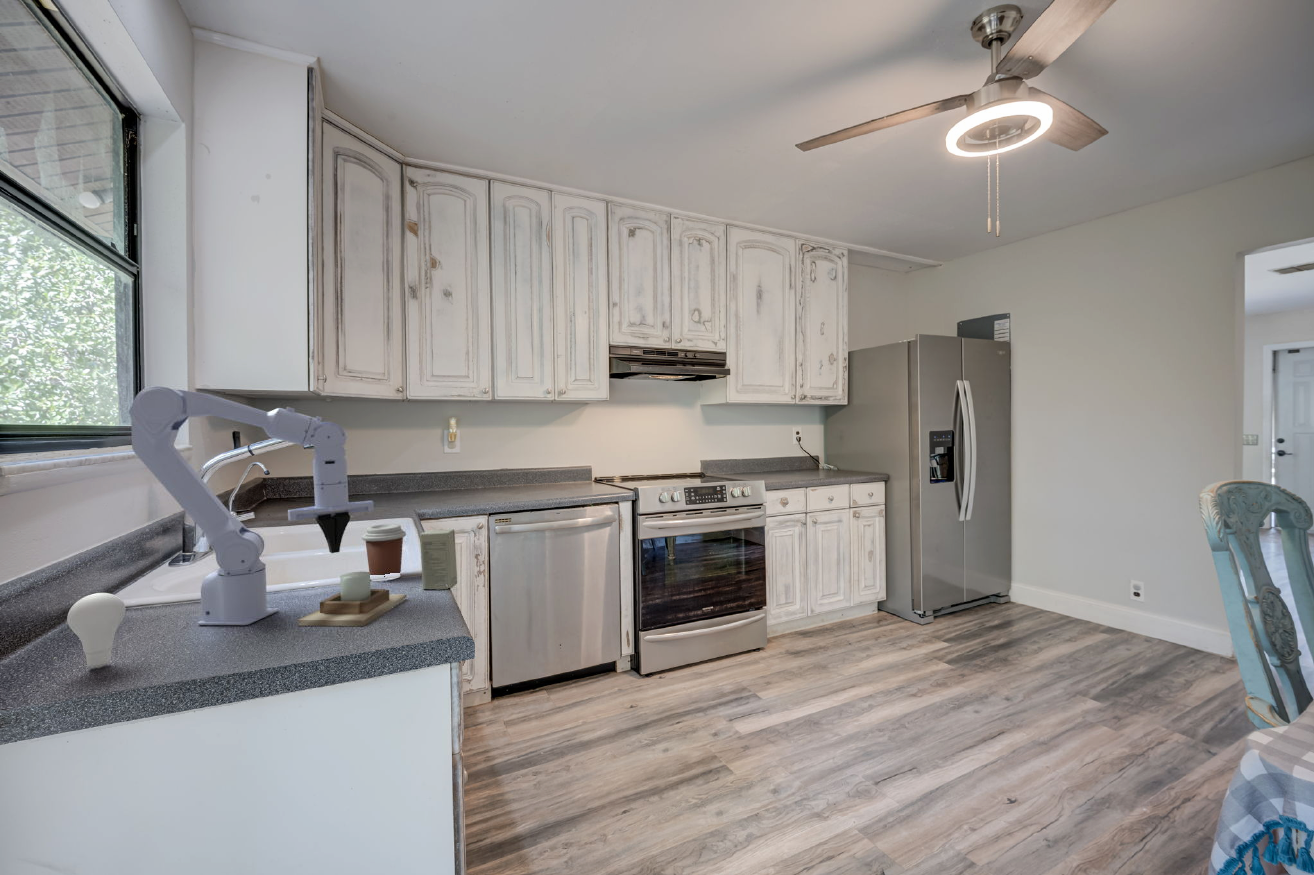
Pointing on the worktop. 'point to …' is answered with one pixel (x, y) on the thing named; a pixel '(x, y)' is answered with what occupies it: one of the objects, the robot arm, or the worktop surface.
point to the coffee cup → (384, 548)
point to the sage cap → (355, 586)
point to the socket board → (352, 610)
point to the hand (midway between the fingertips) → (334, 551)
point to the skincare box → (438, 559)
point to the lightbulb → (96, 625)
